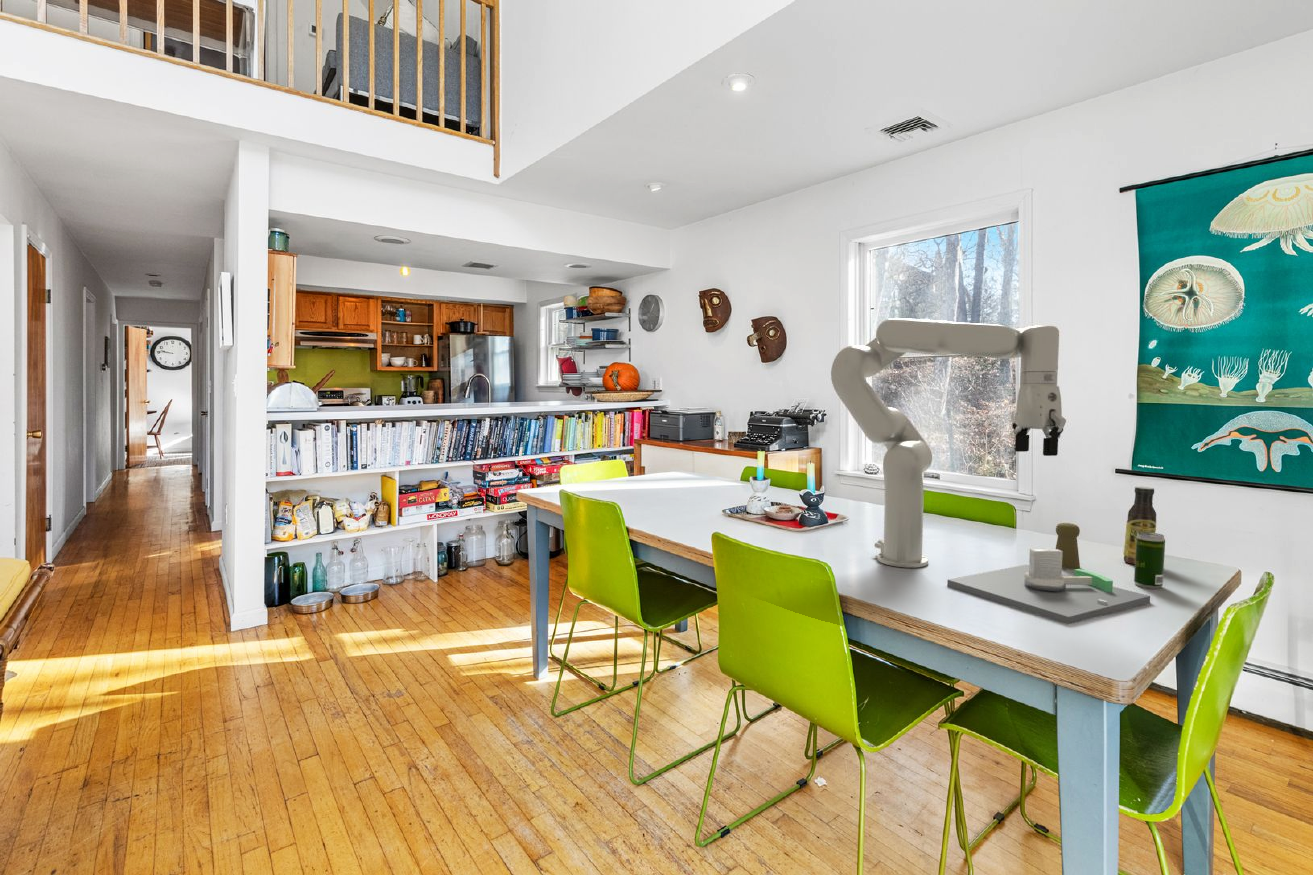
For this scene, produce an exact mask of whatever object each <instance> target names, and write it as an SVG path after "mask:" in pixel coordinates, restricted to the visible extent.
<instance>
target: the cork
mask: <svg viewBox="0 0 1313 875" xmlns="http://www.w3.org/2000/svg"><path fill="white" fill-rule="evenodd" d="M1080 531H1081V530H1080V527H1079V525H1077V524H1074V523H1071V522H1070V523H1069V522H1060V523H1058V524H1056V527H1055V533H1056V535H1057V540H1056V544H1055V549H1058V550H1061V551H1063V554H1062V569H1065V570H1075V569H1081V566H1080V564H1081V563H1080V554H1079V553H1080V552H1079V547H1078V544H1079V543H1078V537H1079V535H1080Z"/></svg>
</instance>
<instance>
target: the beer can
mask: <svg viewBox="0 0 1313 875" xmlns="http://www.w3.org/2000/svg"><path fill="white" fill-rule="evenodd" d="M1165 548H1166V539H1165V535H1164V534H1162V533H1158V532H1155V533H1150V532H1139V533H1138V535H1137V537H1136V554H1135V564H1134V575H1133V576H1134V577H1133V582H1134V584H1135V585H1136V586H1137V587H1141V588H1146V589H1151V590H1159V589H1161V588H1162V587H1163V585H1164V571H1165V570H1164V568H1165V552H1166V550H1165Z"/></svg>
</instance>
